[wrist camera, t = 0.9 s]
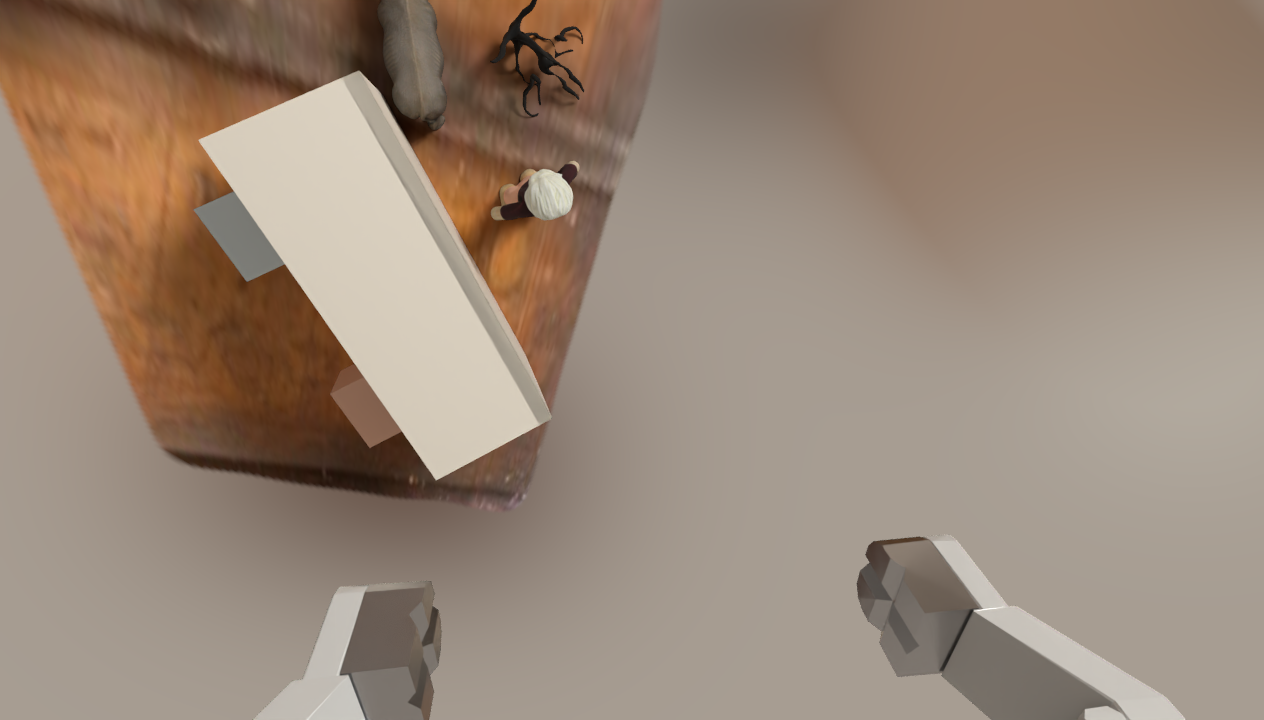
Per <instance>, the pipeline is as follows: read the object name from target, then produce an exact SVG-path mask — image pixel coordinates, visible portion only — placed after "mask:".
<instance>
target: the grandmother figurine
mask: <svg viewBox="0 0 1264 720" xmlns="http://www.w3.org/2000/svg"><path fill="white" fill-rule="evenodd" d="M578 171H579V165H578V163H577V162H575V161H570V162H568V163H567V164H566V165H564V166H563V167H562V168H561V169H560V171H558V173H555V172H553V171H551V170H546V169H542V170H540V171H538V172H536V171H535V170H533V169H527V170H526V171H524V172H523V173H522V174H521V177H520V180H521V182H520V183H519V184H518V185H517V186H515V185H513V184H507V185H504V186H503V187H501V189H500V199H501V204H502V206H500V207H494V208H493V209H492V210H491V216H492V218H493V219H495V220H513V219H516V218H523V217H534V216H535V217H537V218H540V219H542V220H552V219H555V218H558V217H560V216H563V215H565V214H567V213H568V212H569V211H570V209H571V207H572V200H573V193H572V189H571V188H570V186H569V184H570V183H571V182H572V180H573V179H574V178H575V177H576V175H577V173H578Z"/></svg>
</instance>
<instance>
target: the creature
mask: <svg viewBox="0 0 1264 720" xmlns="http://www.w3.org/2000/svg"><path fill="white" fill-rule="evenodd" d="M536 1H537V0H532V1H531V3H530V5H528V6H527V7H526V8H524V9H523V10H522V11H521V13H520V14H519V16H518V17H517V18H516V19H515V20H514V21H513V22H512V23H511V25H510V26H509V30H508V32H507V33H506V34H505V35H504V37H503V41H502V43H501V45H500V52H499V55H498V57H497V58H496V59H495V60H493V61H490V62H491V63H496V62H498V61H500V60H501V59H502V58H503V57H504V56H505V53H506V44H507V43H508V41H510V40H511V41H512V42H513V44H514V49H515V56H516V68H515V69H516V71H517V72H518V73H519V74H520V75H521V76H522V77H523V75H522V73H521V72H520V70H519V64H518V54H519V51H520V48H521V47H522V45H527V46H528V47H530V48H531V49H532V50H533V51H534V52H535V53H536V55H537V56H538V66H539V69H540V70H541V71H542V72H543V73H545V74H547V75H555V74H554V73H553V72H551V71H550V70H549V68H550V67H551V66H557V65H559V66H560V67H563V68H564V69H565V70H566V71H567V73H568V75H569V78H570V79H571V80H573V81H574V82H575V83H576V84H578V85H579V86H580V88H581V90H582V91H583V92H584V89H583V87H582V85H581V83H580V81H579V80H578V79H577V78H576V77H575V76H573V74H572V72H571V71H570V70H569V69H568V68H566V67H564V66H562V65H560V63H559V62H557V61H556V60H555V59H554V58H553V57H552V55H551V54H549V53H547V52H545V51H544V50H543V49H542V48H541V47H540V46H539V45H538V44H537V43H536V42H535V41H534V40H533V39H531V38H530V37H529V36H531V35H534V36H536V37H537V38H539V39H543V40H550V39H545V38H543V37H540V36H539V35H538V34H537V33H523V32H521V31H520V23H521V21H522V19H523V17H525V16H526V15H527V14H529V13H530V12H531V11H532V10H533V8H534V7H535V4H536ZM573 29H576V30H577V31H578V32H579V33H580V34H581V37H582V44H583V36H582V33H581V32H580V30H579V29H578V28H577V27H573V26H572V27H567V28H565V29H563V30H562V31H561V33H560V35H557V36H555V37H554V38H555V40H556V41H560V40H561V41H567V40H566V39H565V38H564V37H563V36H564V34H565V32H567V31H570V30H573ZM550 41H551V40H550ZM551 42H552V41H551ZM552 43H553V42H552ZM553 45H554V44H553ZM554 47H555V46H554ZM572 51H573V50H568V51H565V52H572ZM565 52H562V53H557V52H556V50H555V58H556V57H557V56H559V55H561V54H563V53H565ZM555 76H557V75H555ZM557 77H558V78H559V80H560V81H561V83H562V85H563V87H562V88H563V89H564V90H565V91H567V92H569V93H571V94H572V95H574V96H576V98H577V99H578V100H579V97H578V96H577V94H576V93H575V92H574V91H573V90H571V89H570V88H569V87H568V86H567V85H566V82H565V81H564V80H563V79H562V78H561V77H559V76H557ZM523 80H524V77H523ZM524 81H525V80H524ZM534 81H536V82H537V84H535V85H537V86H538V94H539V104H540V105H541V101H540V83H541V81H540V79H539V78H538V77H537V76H536V75H535V74H531V76H530V83H528V84H529V85H528V87H527V88H526V89H525V91H524V92H523V107H524V110H525V112H526V113H527V114H528V115H530V116H532V117H533V116H537V115H538V114H539V113H537V114H536V115H531V114H530V113H529V112H528V111H527V110H526V95H527V94H528V92H529V90H530V89H531V88H532V86H533V83H534ZM526 83H527V82H526Z"/></svg>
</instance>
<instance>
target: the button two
mask: <svg viewBox="0 0 1264 720" xmlns="http://www.w3.org/2000/svg"><path fill="white" fill-rule="evenodd" d="M330 395H331V396H332V398H333V399H334V400H335V402H336V403H337V404H338V406H339V407H340V408H341V410H342V411H343V412H344V414H345V415H346V417H347V418H348V419H349V421H350V422H351V423H352V425H353V426H354V427H355V429H356V430H357V431H358V433H359V434H360V435H361V437H362V438H363V439H364V441H365V442H366V444H367V445H368V446H369V448H371V447H373V446H375V445H377V444H379V443H380V442H382V441H384V440H386V439H388V438H390V437H392V436H394V435H396V434H398V433H400V432H402V431H401V429H400V428H399V426H398V425H397V423H396V422H395V421H394V419H393V418H392V416H391V415H390V413H389V412H388V411H387V409H386V408H385V406H384V405H383V403H382V402H381V401H380V399H379V398H378V396H377V395H376V393H375V392H374V391H373V389H372V388H371V386H370V385H369V383H368V382H367V381H366V379H365V378H364V376H363V375H362V373H361V372H360V371H359V369H358V368H357V366H356V365H355V364H353V365H351V366H349V367H347V368H345V369H343V370H341V371H340V373H339V375H338V377H337V380H336V382H335V384H334V386H333V388H332V391H331V393H330Z"/></svg>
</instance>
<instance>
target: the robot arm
mask: <svg viewBox="0 0 1264 720" xmlns="http://www.w3.org/2000/svg"><path fill="white" fill-rule="evenodd" d="M865 555H866V557H867V559H868V560H869V562H870V563H869V564H867V565H866V566H865V567H864V568H863V569H862V570H861V571H860V573H859V577H858V581H857V591H858V599H859V602H860V605H861V608H862V610H863V612H864V614H865V616H866V618H867V620H868V622H870V623H871V624H872V625H874V626H875V627H876V628H878V629H879V630H880V631H882V632H881V638H880V645H881V647H882V649H883V651H884V652H885V654H886V656H887V658H888V660H889V662H890V664H891V666H892V668H893V669H894V671H895V673H896V675H897V676H898V677H902V676H914V675H925V674H938V673H942V675H941V676H942V677H943V678H945V679H946V680H947V681H948V682H949V683H950V684H951V685H952V686H954V687H955V688H956V689H957V690H958V691H959V692H960V693H962V694H963V695H964V696H965V697H966V698H967V699H969V700H970V701H971V702H972V703H973V704H974V705H975V706H976V707H978V708H979V709H980V710H981V711H982V712H983V713H984V714H985V715H987V716H988V717H989V718H990V719H991V720H1186V719H1185V718H1184V717H1183V716H1182V715H1181V714H1180V713H1179V711H1178V710H1177V709H1176V708H1175V707H1174V706H1173V705H1172V703H1171V702H1170V701H1169V700H1168V699H1167V698H1166V697H1165V696H1163V695H1162V694H1160V693H1158V692H1157V691H1155V690H1153V689H1152V688H1150V687H1149V686H1147V685H1145V684H1144V683H1142V682H1140V681H1138V680H1137V679H1135V678H1134V677H1132V676H1130V675H1129V674H1127V673H1125V672H1124V671H1122V670H1121V669H1119V668H1117V667H1116V666H1114V665H1112V664H1111V663H1109V662H1107V661H1106V660H1104V659H1103V658H1101V657H1099V656H1097V655H1096V654H1094V653H1092V652H1091V651H1089V650H1088V649H1086V648H1084V647H1082V646H1081V645H1079V644H1078V643H1076V642H1075V641H1073V640H1071V639H1070V638H1068V637H1066V636H1065V635H1063V634H1061V633H1059V632H1058V631H1056V630H1055V629H1053V628H1052V627H1050V626H1048V625H1046V624H1045V623H1043V622H1042V621H1040V620H1038V619H1037V618H1035V617H1034V616H1032V615H1030V614H1028V613H1027V612H1025V611H1024V610H1022V609H1020V608H1019V607H1017V606H1008V605H1007V604H1006V603H1005V602H1004V600H1003V599H1002V598H1001V596H1000V595H999V594H998V592H997V591H996V590H995V589H994V587H993V586H992V585H991V583H990V582H989V581H988V580H987V578H986V577H985V576H984V574H983V573H982V572H981V571H980V569H979V568H978V567H977V566H976V564H975V563H974V562H973V560H972V559H971V558H970V557H969V555H968V554H967V553H966V551H965V550H964V549H963V548H962V546H961V545H960V544H959V542H958V541H957V540H956V539H955V538H953V537H952V536H950V535H938V536H926V537H910V538H901V539H890V540H880V541H873V542H872V543H871V544H870V545H869V546H868V548H867V552H866V554H865ZM434 595H435V593H434V589H433V585H432V582H431V581H420V582H403V583H386V584H371V585H358V586H345V587H339V588H338V590H337V591H336V592H335V594H334V595H333V597H332V599H331V602H330V605H329V607H328V610H327V613H326V616H325V618H324V621H323V624H322V626H321V629H320V632H319V635H318V637H317V640H316V643H315V645H314V648H313V651H312V654H311V657H310V659H309V662H308V665H307V667H306V670H305V673H304V675H303V678H302V679H300V680H293V681H291V683H289V684H288V685H287V686H286V687H285V688H284V690H282V691H281V692H280V693H279V694H278V695H277V696H276V697H275V698H274V699H273V700H272V701H271V702H270V703H269V704H268V705H267V706H266V707H265V708H264V709H263V710H262V711H261V712H260V713H259V714H258V715H257V716H256V717H255V718H254V719H253V720H429V717H430V712H431V706H432V700H433V694H434V689H433V685H432V681H431V677H430V675H431V674H432V673H433V671H434V670H435V669H436V668H437V667H438V663H439V657H440V651H441V632H442V631H441V619H440V614H439V610H438V609H436V608H435V607H433V600H434Z"/></svg>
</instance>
